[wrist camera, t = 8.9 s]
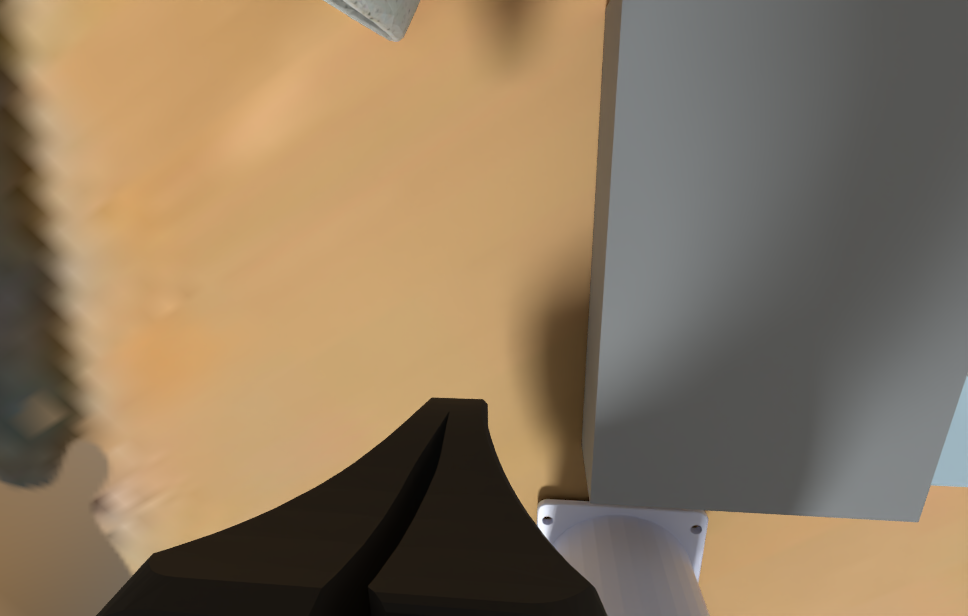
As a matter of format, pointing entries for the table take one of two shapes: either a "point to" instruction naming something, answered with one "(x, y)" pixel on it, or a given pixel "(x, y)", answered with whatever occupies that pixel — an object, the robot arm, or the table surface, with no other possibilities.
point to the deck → (778, 255)
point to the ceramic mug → (380, 15)
